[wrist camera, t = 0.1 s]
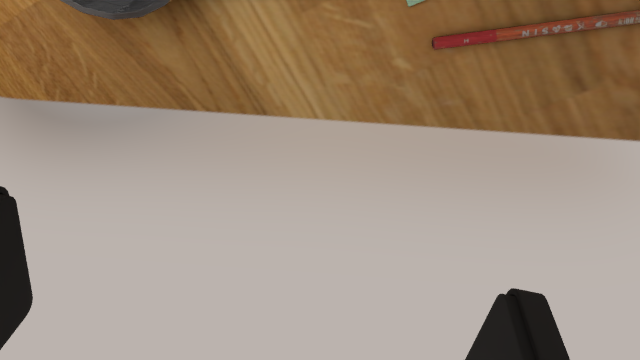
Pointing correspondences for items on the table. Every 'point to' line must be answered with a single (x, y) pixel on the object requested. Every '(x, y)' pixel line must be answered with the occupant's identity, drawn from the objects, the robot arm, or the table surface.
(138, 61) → the table surface
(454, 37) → the pencil
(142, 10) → the pan
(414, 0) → the cloth
